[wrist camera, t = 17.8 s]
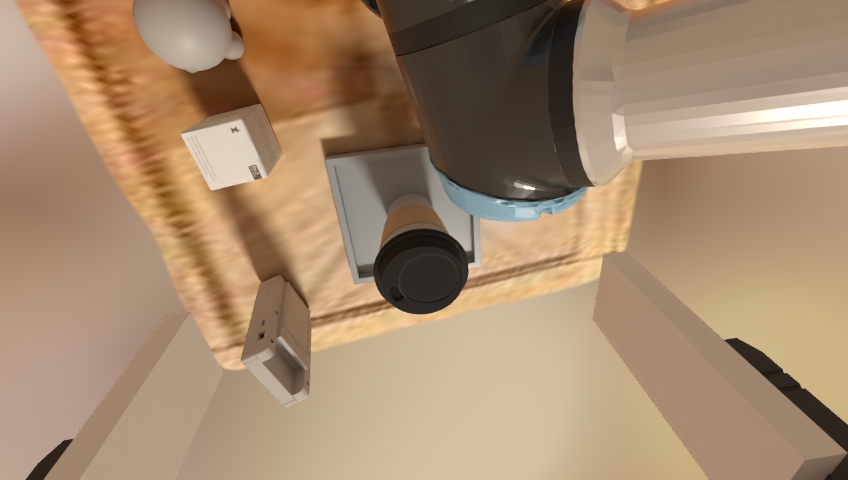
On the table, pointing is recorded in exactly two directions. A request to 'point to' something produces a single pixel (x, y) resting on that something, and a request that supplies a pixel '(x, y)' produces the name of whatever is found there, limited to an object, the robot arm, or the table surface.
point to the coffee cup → (418, 258)
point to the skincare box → (233, 146)
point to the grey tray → (390, 201)
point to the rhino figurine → (188, 32)
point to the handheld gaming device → (279, 341)
